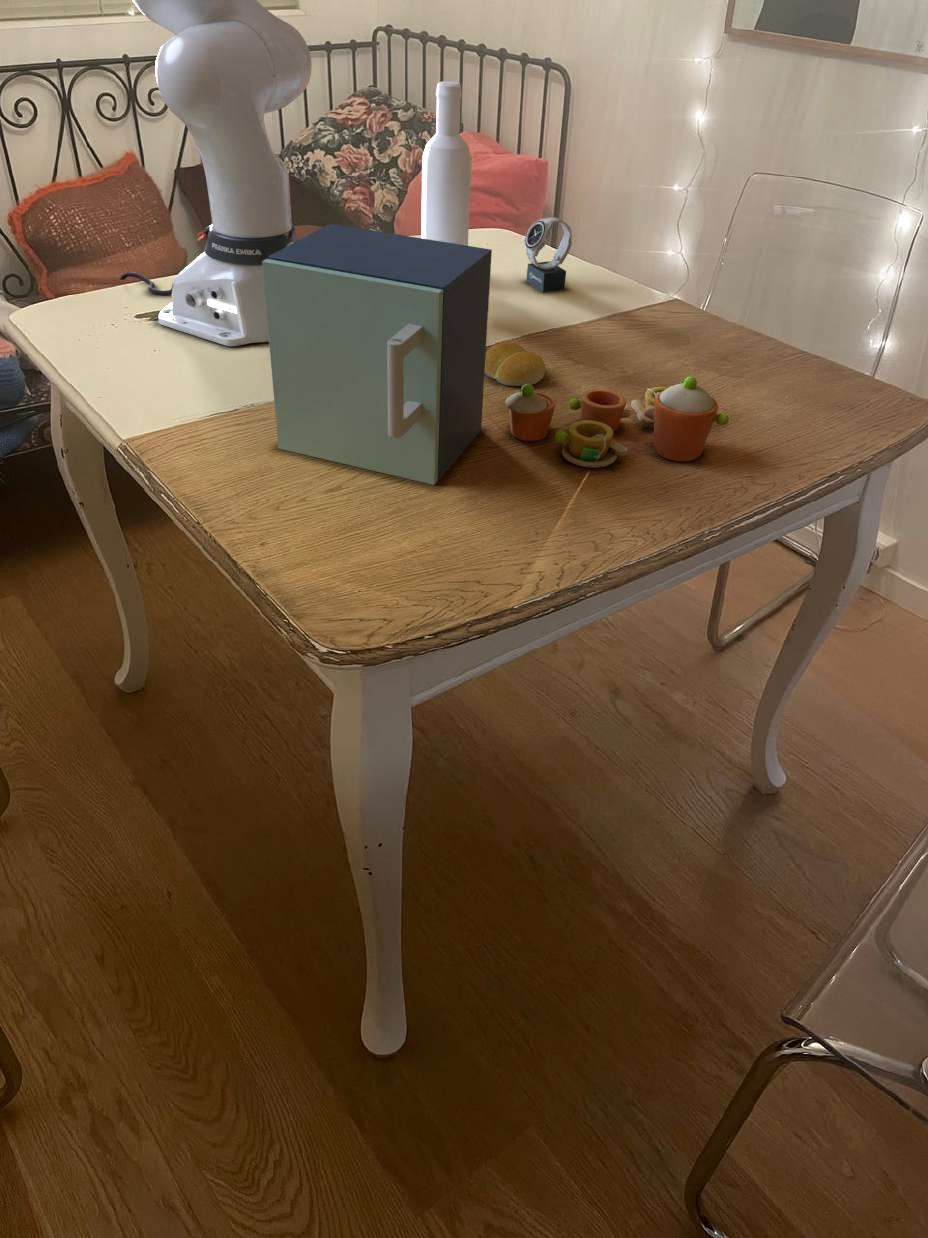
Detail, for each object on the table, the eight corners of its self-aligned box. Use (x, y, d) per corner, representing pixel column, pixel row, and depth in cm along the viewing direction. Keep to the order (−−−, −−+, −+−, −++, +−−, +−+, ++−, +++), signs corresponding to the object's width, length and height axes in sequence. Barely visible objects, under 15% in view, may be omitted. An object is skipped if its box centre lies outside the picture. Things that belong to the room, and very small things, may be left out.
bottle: (476, 283, 161) (486, 84, 142) (445, 294, 156) (451, 89, 137) (441, 272, 165) (447, 76, 146) (410, 282, 160) (412, 81, 141)
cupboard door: (413, 509, 101) (416, 311, 88) (252, 470, 107) (231, 277, 93) (437, 481, 107) (443, 289, 93) (282, 445, 112) (266, 258, 98)
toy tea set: (679, 406, 125) (693, 336, 119) (733, 462, 113) (752, 387, 108) (491, 421, 119) (496, 348, 114) (528, 481, 108) (535, 403, 102)
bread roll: (514, 393, 126) (517, 365, 124) (471, 371, 132) (472, 343, 129) (558, 378, 131) (561, 351, 128) (514, 357, 136) (516, 330, 133)
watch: (516, 283, 162) (521, 216, 155) (556, 278, 165) (562, 212, 158) (532, 293, 158) (538, 225, 151) (573, 288, 161) (580, 221, 154)
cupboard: (438, 481, 107) (444, 287, 93) (283, 445, 112) (267, 256, 98) (481, 430, 117) (491, 249, 104) (337, 399, 122) (330, 223, 109)
